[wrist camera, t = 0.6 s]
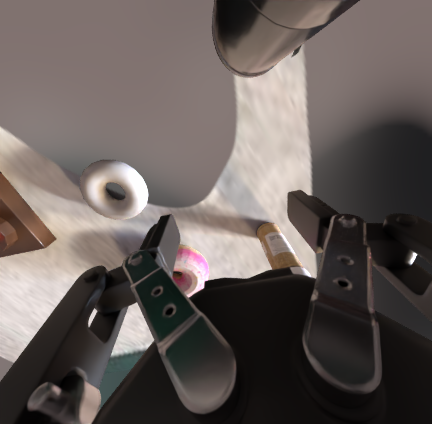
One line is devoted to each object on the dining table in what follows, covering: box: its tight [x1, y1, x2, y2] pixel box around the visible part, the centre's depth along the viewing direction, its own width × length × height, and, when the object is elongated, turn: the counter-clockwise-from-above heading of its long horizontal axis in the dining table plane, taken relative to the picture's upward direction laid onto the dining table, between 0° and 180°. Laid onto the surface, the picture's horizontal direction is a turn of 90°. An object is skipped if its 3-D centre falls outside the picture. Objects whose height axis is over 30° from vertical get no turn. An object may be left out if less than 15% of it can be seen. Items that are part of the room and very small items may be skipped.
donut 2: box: [172, 245, 209, 297], centre depth 36 cm, size 14×13×5 cm
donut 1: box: [80, 160, 148, 220], centre depth 28 cm, size 10×3×10 cm
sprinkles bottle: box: [257, 223, 311, 277], centre depth 29 cm, size 5×5×14 cm
